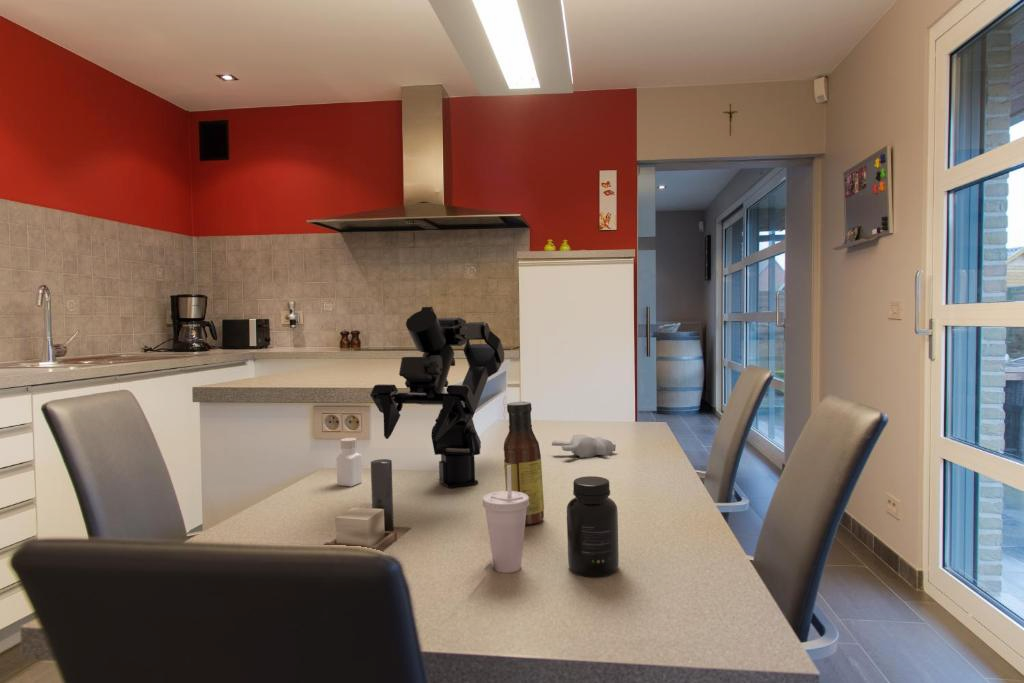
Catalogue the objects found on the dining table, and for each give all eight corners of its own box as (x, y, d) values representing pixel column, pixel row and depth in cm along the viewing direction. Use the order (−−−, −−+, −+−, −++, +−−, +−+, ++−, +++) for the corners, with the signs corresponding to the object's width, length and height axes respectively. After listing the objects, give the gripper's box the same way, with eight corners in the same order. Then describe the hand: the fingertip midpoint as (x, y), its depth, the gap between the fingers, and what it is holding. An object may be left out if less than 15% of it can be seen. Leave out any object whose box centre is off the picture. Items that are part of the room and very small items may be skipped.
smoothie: (526, 578, 81) (523, 472, 80) (478, 575, 82) (475, 470, 81) (534, 559, 87) (532, 460, 86) (490, 556, 88) (487, 459, 88)
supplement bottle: (563, 559, 86) (562, 474, 86) (611, 556, 87) (610, 472, 87) (572, 580, 80) (571, 488, 79) (624, 577, 80) (623, 485, 80)
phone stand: (369, 530, 100) (367, 457, 99) (412, 533, 98) (410, 458, 97) (324, 561, 87) (321, 477, 87) (372, 566, 85) (370, 480, 85)
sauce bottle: (548, 516, 105) (546, 400, 105) (538, 528, 100) (535, 405, 99) (512, 513, 108) (509, 399, 107) (500, 524, 102) (497, 404, 101)
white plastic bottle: (336, 486, 128) (334, 440, 128) (348, 481, 132) (346, 436, 131) (352, 487, 127) (350, 441, 126) (363, 482, 130) (362, 437, 130)
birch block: (354, 539, 93) (353, 507, 93) (384, 542, 92) (383, 509, 91) (336, 552, 88) (335, 517, 88) (368, 555, 87) (367, 519, 87)
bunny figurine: (622, 440, 149) (567, 438, 143) (620, 461, 149) (565, 460, 143) (602, 433, 158) (549, 432, 152) (600, 453, 158) (547, 452, 152)
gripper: (373, 340, 113) (343, 409, 103) (469, 339, 108) (447, 411, 98) (394, 379, 121) (368, 446, 111) (484, 379, 116) (465, 450, 106)
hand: (410, 438), depth 106 cm, fingers open, 9 cm apart
